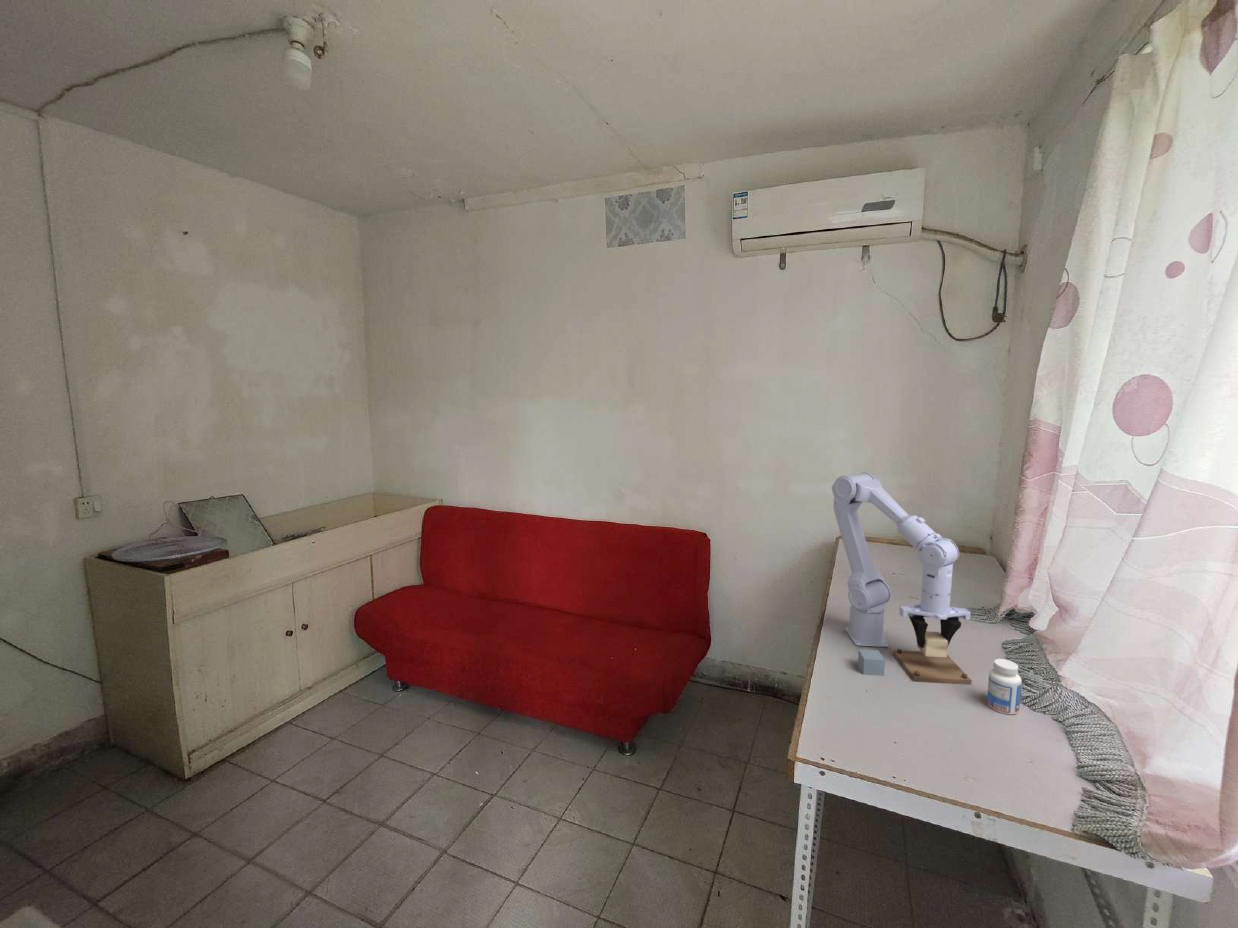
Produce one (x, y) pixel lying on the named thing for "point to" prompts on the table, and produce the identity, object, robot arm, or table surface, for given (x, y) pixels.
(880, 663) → the slate block
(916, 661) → the base plate
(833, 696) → the table surface
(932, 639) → the birch block
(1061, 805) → the table surface
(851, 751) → the table surface
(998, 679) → the pill bottle
